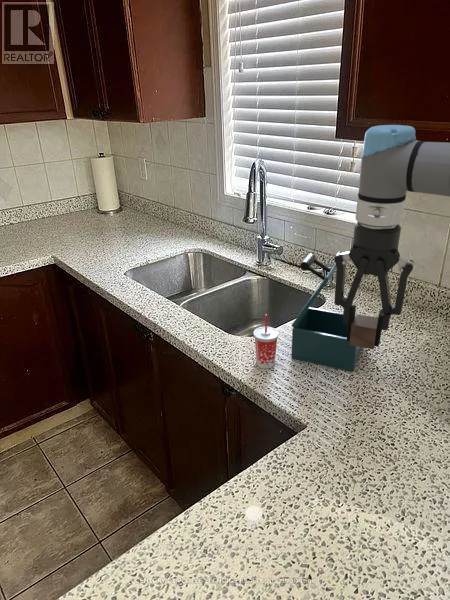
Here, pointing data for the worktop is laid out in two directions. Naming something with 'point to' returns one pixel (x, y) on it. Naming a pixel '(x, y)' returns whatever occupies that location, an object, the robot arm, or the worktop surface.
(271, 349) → the beverage cup
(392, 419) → the worktop surface
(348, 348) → the teal hinged box
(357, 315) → the block
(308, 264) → the lid
